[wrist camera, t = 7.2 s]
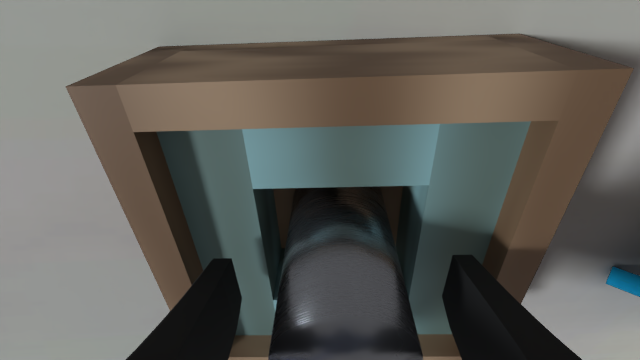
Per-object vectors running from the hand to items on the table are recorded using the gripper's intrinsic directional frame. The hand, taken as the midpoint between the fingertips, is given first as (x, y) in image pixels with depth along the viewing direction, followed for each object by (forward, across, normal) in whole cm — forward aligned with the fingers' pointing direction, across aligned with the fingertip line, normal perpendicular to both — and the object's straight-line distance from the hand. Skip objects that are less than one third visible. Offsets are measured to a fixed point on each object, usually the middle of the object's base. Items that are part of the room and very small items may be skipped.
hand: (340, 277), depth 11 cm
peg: (+4, 0, 0) cm, 4 cm away
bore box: (+5, 0, 0) cm, 5 cm away
